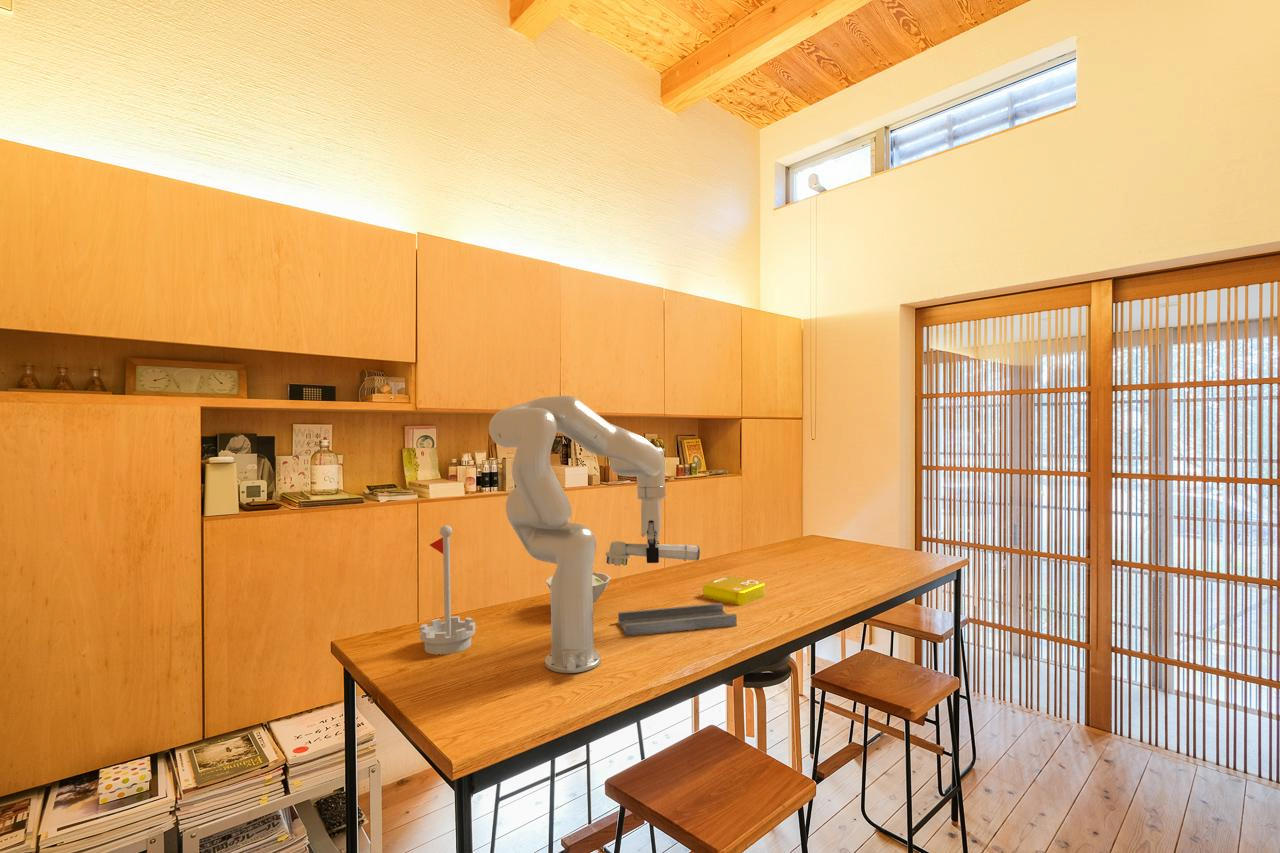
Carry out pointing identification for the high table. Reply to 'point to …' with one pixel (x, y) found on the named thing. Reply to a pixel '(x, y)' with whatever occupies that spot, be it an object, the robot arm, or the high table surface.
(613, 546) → the grey elongated piece
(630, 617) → the pipe channel
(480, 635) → the high table surface
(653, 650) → the high table surface
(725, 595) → the element tile
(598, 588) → the bowl
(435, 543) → the flag stand
